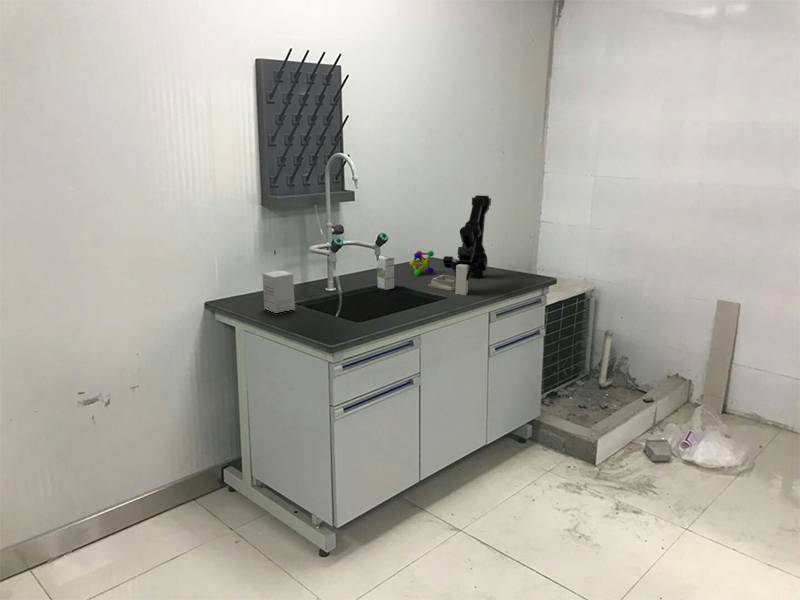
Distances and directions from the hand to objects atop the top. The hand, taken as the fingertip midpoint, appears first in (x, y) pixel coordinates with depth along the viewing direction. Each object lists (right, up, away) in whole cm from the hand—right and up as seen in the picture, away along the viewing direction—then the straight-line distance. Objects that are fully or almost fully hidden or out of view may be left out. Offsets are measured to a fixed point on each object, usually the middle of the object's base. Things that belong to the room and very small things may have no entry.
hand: (461, 279), depth 272 cm
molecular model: (-16, +4, +40) cm, 43 cm away
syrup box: (-33, -4, +12) cm, 35 cm away
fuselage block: (0, -6, +3) cm, 7 cm away
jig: (-5, -2, +16) cm, 17 cm away
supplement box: (-74, -13, -23) cm, 79 cm away
